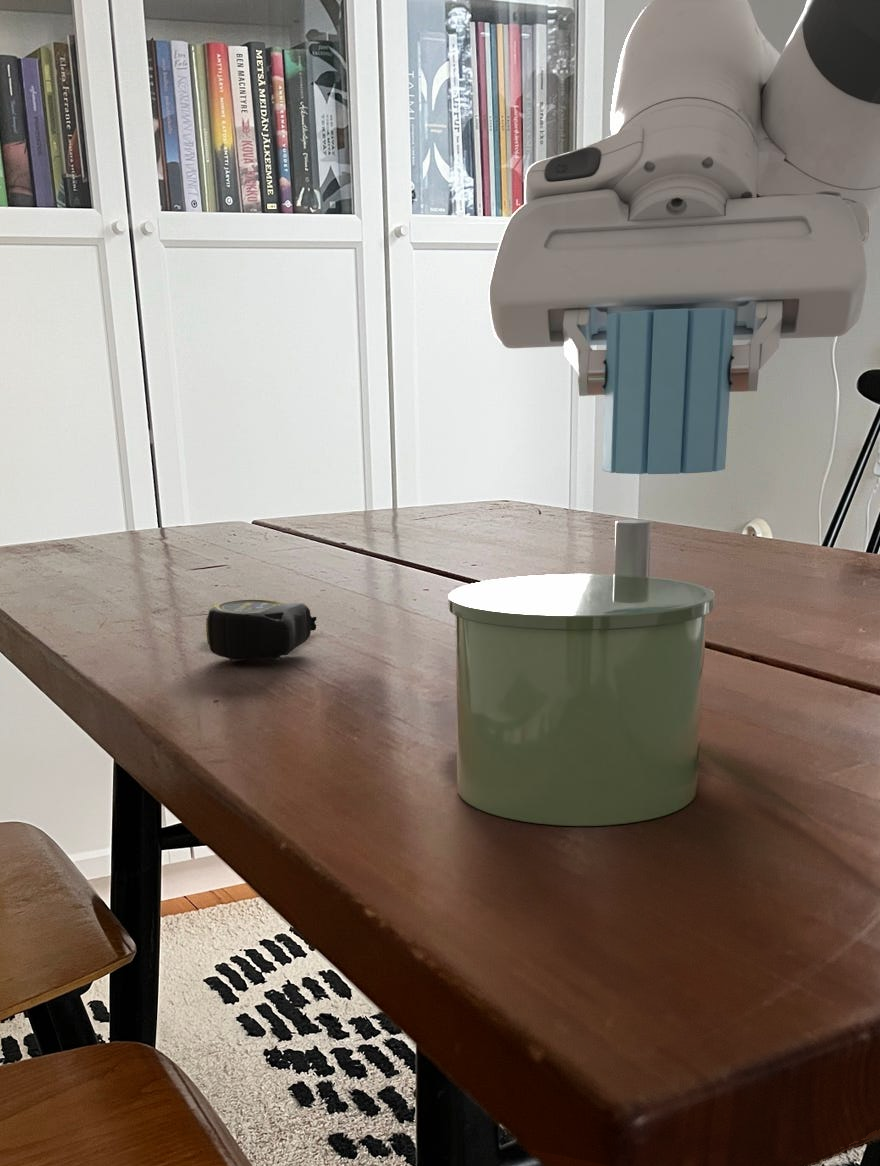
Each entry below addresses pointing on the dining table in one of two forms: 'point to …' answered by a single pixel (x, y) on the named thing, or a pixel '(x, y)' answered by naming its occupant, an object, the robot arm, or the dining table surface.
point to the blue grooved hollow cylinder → (667, 390)
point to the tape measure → (257, 628)
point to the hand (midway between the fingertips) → (665, 385)
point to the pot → (581, 691)
